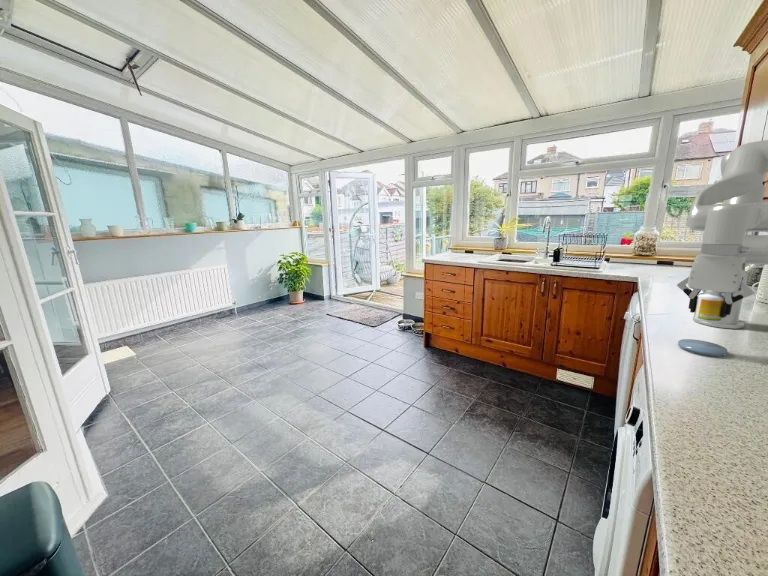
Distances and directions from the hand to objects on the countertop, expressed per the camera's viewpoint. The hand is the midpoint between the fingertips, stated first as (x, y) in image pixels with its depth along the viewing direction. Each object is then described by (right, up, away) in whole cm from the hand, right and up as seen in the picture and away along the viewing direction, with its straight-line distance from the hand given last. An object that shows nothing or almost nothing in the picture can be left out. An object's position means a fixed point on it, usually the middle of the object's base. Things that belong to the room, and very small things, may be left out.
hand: (708, 313), depth 88 cm
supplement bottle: (0, -2, 0) cm, 2 cm away
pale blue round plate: (+1, -11, +2) cm, 11 cm away
